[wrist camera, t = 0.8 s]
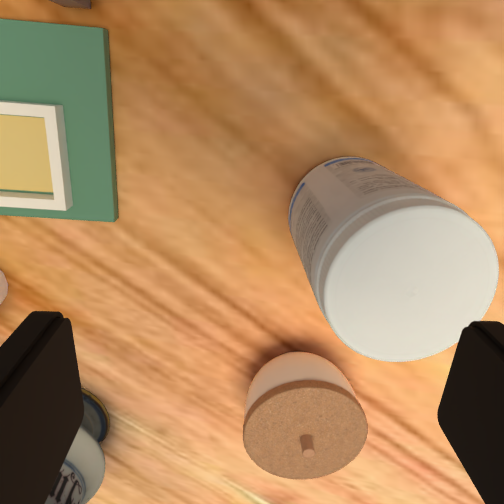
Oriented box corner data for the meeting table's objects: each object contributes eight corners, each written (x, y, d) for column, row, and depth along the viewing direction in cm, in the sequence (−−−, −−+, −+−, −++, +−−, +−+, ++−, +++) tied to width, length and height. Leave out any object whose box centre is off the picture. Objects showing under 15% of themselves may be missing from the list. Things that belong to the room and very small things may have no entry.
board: (-69, 13, 28) (-98, 7, 25) (108, 30, 28) (95, 25, 26) (-29, 208, 33) (-50, 218, 31) (118, 217, 34) (109, 228, 31)
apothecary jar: (80, 474, 46) (-9, 696, 29) (-18, 423, 42) (-181, 642, 26) (143, 413, 43) (82, 625, 26) (42, 353, 39) (-101, 553, 23)
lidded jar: (367, 361, 41) (401, 437, 32) (305, 428, 44) (321, 513, 36) (281, 314, 38) (293, 382, 30) (222, 388, 42) (218, 469, 33)
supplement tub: (336, 280, 37) (392, 395, 23) (263, 212, 34) (279, 298, 21) (420, 207, 34) (539, 289, 21) (349, 127, 32) (433, 162, 18)
